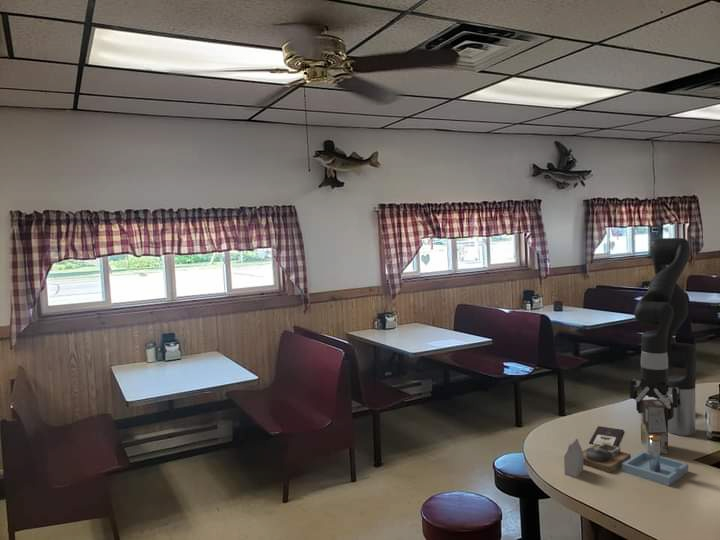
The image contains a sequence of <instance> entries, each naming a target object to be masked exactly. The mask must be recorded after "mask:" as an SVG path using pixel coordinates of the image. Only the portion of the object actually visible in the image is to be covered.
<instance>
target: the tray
mask: <svg viewBox="0 0 720 540" xmlns="http://www.w3.org/2000/svg"><path fill="white" fill-rule="evenodd" d="M660 466H661V471H660V472H654V471H651V470H650V453H649V452H648V451H643V450H642V451H641V452H639V453H637V454H635V455H634V456H631V458H630V459H629V460H627V461H626V462H624V463H622V466H621V471H622V472H623V473H626V474H629V475H632V476H636V477H638V476H639V478H641V477H642V478H641V479H644V480H647V481H651V482H655V483H657V484H660V485H664V486H667V487H670V486H671V485H673V484H675V482H676V481H678V480H679V479H681V478H682V477H684V475H686V474H687V473H689V463H686V462H682V461H678V460H675V459H672V458H668V457H665V456H661V455H660Z"/></svg>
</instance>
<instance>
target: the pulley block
mask: <svg viewBox="0 0 720 540" xmlns="http://www.w3.org/2000/svg"><path fill="white" fill-rule="evenodd" d="M621 450H622V449H621V447H620V446H617V447H616V446H613V445H609V444H606V443H603V444H601V445H597V444H595V445H592V446H590V447H589V448H586V449H584V450H583V466H587V467H590V468H593V469H595V470H599V471H602V472H604V473H605V472H606V473H608V474H611V473H612V472H614V471H616V470H618V469H619V468H620V467H622V463H624V462H626V461H627V460H629V459H630V458H632V456H631V455H632V454H631V453H628V452H624V451H621ZM615 469H616V470H615Z"/></svg>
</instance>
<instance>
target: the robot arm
mask: <svg viewBox="0 0 720 540" xmlns="http://www.w3.org/2000/svg"><path fill="white" fill-rule="evenodd" d="M690 252H691V249H690V244H689V241H688V240H687V239H686V238H684V237H683V238H681V237H673V238H672V237H668V238H667V237H662V238H655V239H654V240H653V241H652V244H651V258H652V263H653V269H654V276H653V277H652V278H651V280H650V283H649V286H648V289H647V291H646V293H645V294H644V295H643V296H642V298H641V299H639V301H638V302H637V304H636V305H635V308H634V314H633V315H634V318H635V320H636V321H637V322H638V323H639V324H643V325H656V326H659V327H658V329H655V330H648V331H647V330H646V331H644V332H643V333H641V342H640V343H641V345H640V346H641V350H640V351H641V353H640V362H639V363H640V380H638V379H637V378H634V379H632V380H630V384H629V385H630V386H629V387H630V388H629V398H630V399H631V400H632V399H633V400H635V401H636V402H635V403H636V411H637V414H640V415H641V413H643V411H644V406H643V401H642V400H644V399H645V397H646V396H647V397H649V398H653V399H659V398H660V399H661V401H662V402H664V404H665V405H666V406H667V408H666V419H667V420H668V433H671V434H673V435H676V436H677V435H678V436H682V437H683V436H685V437H686V436H687V437H690V436H694V435H695V434H696V378H697V377H696V376H697V375H696V370H697V355H698V354H697V348H696V345H694V344H691V343H683V342H673V337H674V335H675V334H676V332H677V330H678V329H679V328H680V327H681V326H682V324H683V323H684V322H685V320H686V319H687V317H688V315H689V306H688V305H689V304H688V303H689V302H688V301H689V300H688V296H687V294H686V292H685V291H684V290H683V288H682V287H681V286H680V285H679V283H677V282H678V280H679V278H680V277H681V275H682V273H683V271H684V269H685V268H686V265H687V263H688V262H689V258H690V254H691V253H690ZM669 368H674V369H681V370H682V369H684V372H680V373H679V374H673V375H670V376H669ZM638 387H640V388H641V389H642V391H641V392H640V393H639V394H638Z"/></svg>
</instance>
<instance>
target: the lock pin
mask: <svg viewBox="0 0 720 540" xmlns="http://www.w3.org/2000/svg"><path fill="white" fill-rule="evenodd" d="M649 451H650V470H651V471H654V472H660V471H661V466H660V456H661V453H660V435H657V434H649Z"/></svg>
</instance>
